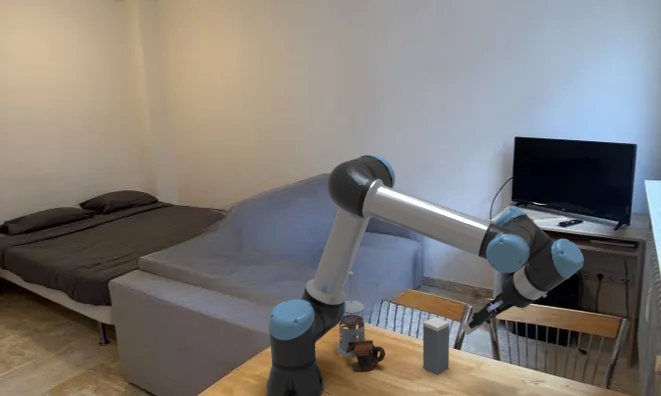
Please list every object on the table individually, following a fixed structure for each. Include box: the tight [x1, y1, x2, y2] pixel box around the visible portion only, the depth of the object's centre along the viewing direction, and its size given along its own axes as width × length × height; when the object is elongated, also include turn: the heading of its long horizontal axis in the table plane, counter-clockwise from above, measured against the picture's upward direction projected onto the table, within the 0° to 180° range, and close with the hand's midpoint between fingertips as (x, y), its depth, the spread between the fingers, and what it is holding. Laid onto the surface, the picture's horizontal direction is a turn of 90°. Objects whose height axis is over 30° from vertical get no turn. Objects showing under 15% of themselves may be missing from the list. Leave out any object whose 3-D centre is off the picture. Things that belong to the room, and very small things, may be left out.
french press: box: [336, 270, 366, 357], centre depth 162 cm, size 10×12×25 cm
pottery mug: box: [346, 339, 386, 372], centre depth 155 cm, size 12×10×8 cm
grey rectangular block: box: [422, 316, 450, 376], centre depth 150 cm, size 5×5×14 cm
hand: (465, 329), depth 140 cm, fingers closed
